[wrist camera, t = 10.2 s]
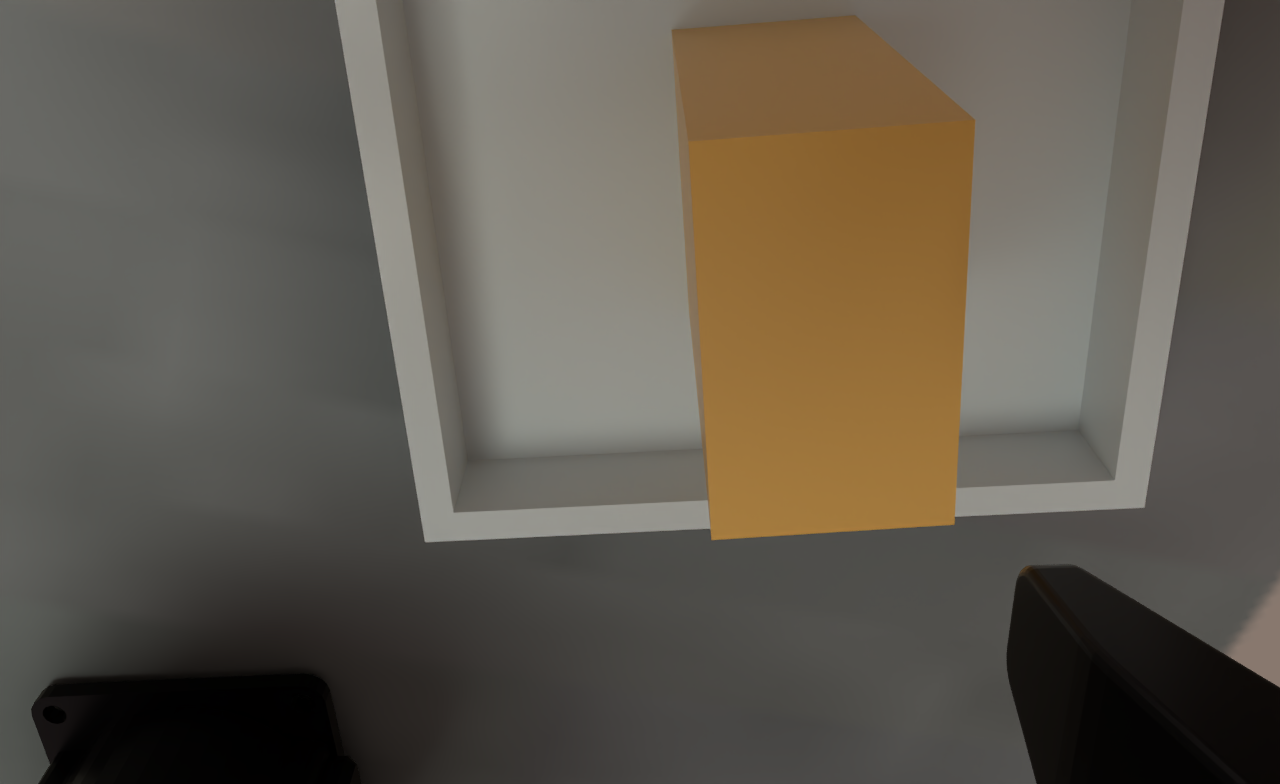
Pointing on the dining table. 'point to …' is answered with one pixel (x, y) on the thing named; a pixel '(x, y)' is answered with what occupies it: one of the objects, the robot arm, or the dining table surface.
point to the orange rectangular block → (822, 276)
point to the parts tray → (656, 262)
